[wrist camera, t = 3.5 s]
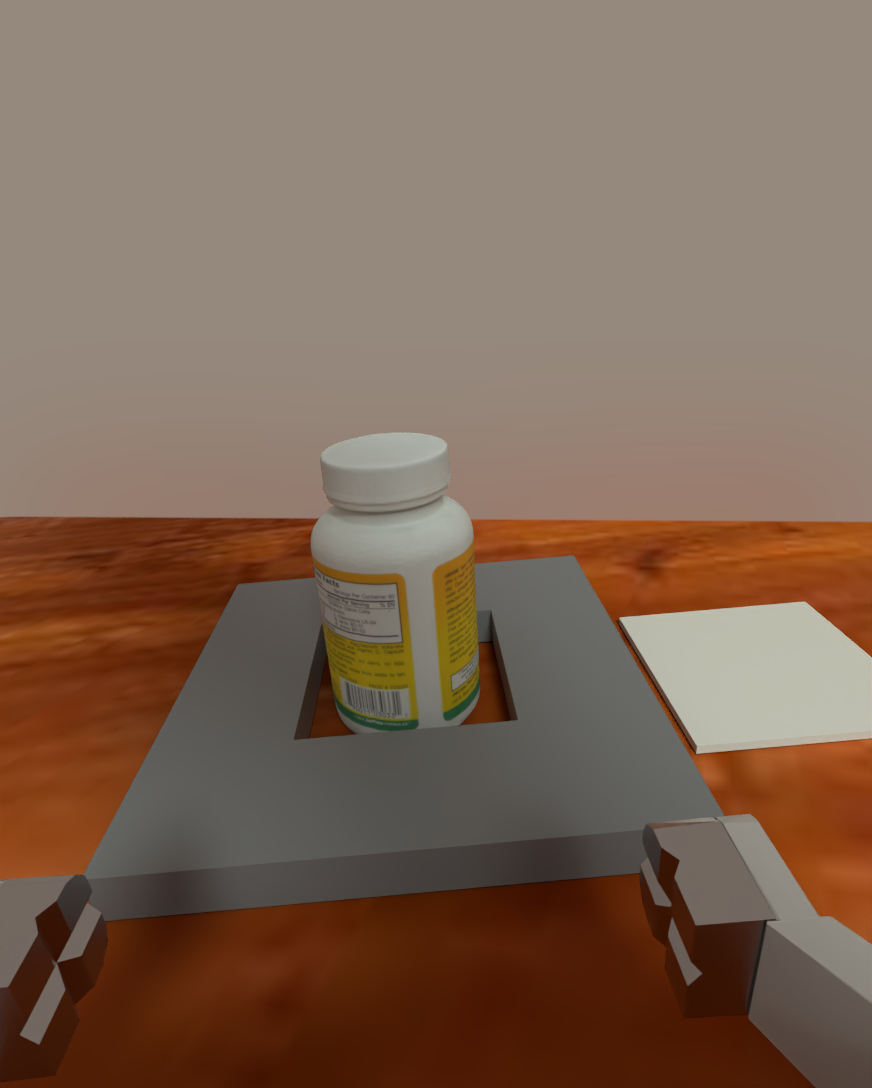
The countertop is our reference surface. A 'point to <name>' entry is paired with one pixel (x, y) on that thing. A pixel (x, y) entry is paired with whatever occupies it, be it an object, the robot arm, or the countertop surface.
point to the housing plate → (397, 765)
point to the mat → (756, 676)
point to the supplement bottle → (396, 585)
